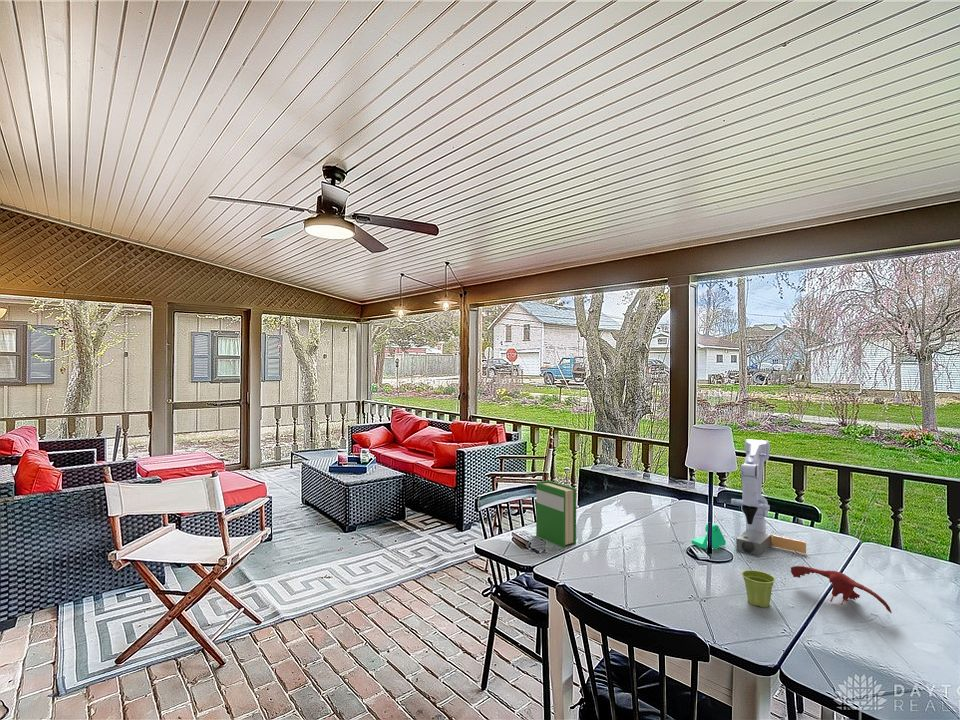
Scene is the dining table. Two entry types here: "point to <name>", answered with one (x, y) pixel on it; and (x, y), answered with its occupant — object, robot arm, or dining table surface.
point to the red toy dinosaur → (838, 583)
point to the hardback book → (556, 513)
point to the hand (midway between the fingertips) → (750, 523)
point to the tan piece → (788, 544)
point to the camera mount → (716, 538)
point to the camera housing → (753, 542)
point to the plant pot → (758, 587)
